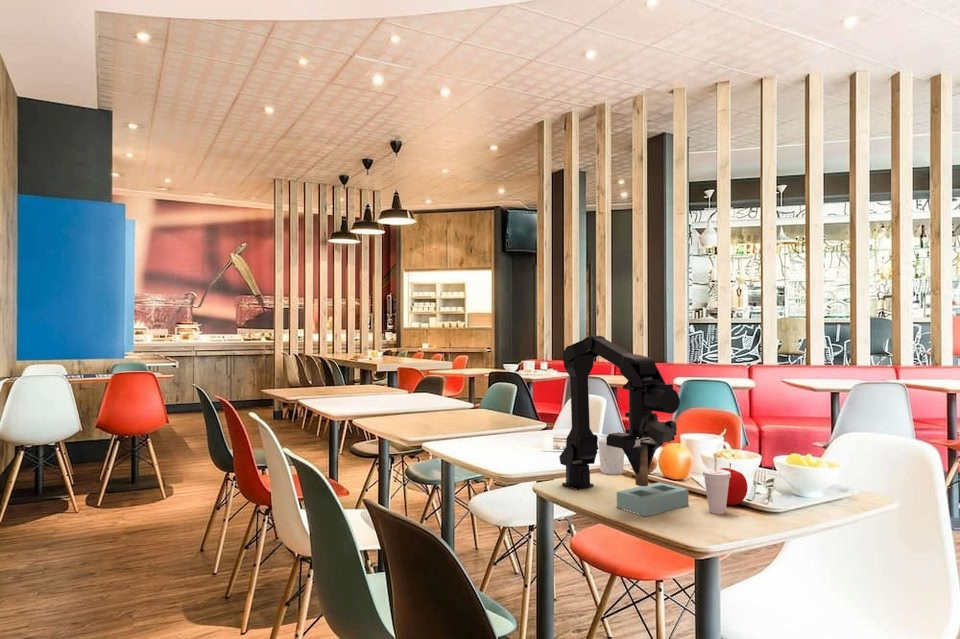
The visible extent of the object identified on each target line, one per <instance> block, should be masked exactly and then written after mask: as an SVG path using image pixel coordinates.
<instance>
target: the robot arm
mask: <svg viewBox="0 0 960 639" xmlns="http://www.w3.org/2000/svg"><path fill="white" fill-rule="evenodd" d="M598 357H601V358H603V359H604V360H606V361H607V362H609V363H611V364H612V365H614V366H616V367H617V368H618V369H619V373H620V375H622V376H623V377H624V378H625V379H626V380H627V382H626V383H625V384H624V385H622V390H627V391H628V412H625V413H624V416H625V418H628V428H625V431H624V432H625V433H624V432H613V433H608V435H607V436H606V437H605V438H607V445H608V446H612V447H617V448H622V449H623V451H624V455H625V456H626V458H627V459H628V462H629V464H630V465H631V468H632V470H633V472H634V474H635V473H637V474H638V473H639V469H640V453H641V451H642V450H643V449H644V447H642V446H640V445H647V446H648V472H649V470H650V467H651V465H652V464H651V463H652V461H653V458H654V455H655V453H656V452H657V450H658V449H659V448H660V447H663V445H664V444H665V443H671V442H672V441H675V440H676V438H675V436H677V435H678V434H677V431H678V429H677V422H676V421H674V420H667V421H660V420H658V415H657V413H663V414H670V415H671V414H675V413H676V412H677V410H678V409H679V408H680V405H681V399H680V396H679V393H678V392H677V391H676V390H675V389H674V385H673V383H666V382H665V380H664V378H663V376H662V374H661V372H660V371H659V369H658V367H657V365H656V361H655V360H654V359H653V358H652V357H648V356H645V355H642V354H641V355H640V354H636V353H635V354H634V353H631V352H629V351H628V350H625V349H624V348H622V347H620V346H619V345H616V344H615V343H614V342H611V341H610V340H608V339H606V337H604V336H603V335H588V336H586V337H584V339H582V340H579V341H577V342H575V343H572V344H570V345H567V346H566V347H565V349H564V350H563V352H562V359H563V367H564V369H565V371H566V373H567V374H568V376H569V380H570V381H569V382H570V387H569V388H570V408H571V409H570V413H571V414H570V415H571V429H570V431H569V433H568V435H567V437H566V440H565V442H566V443H565V448H564V449H563V451H562V452H561V454H560V455H559V457H558V458H559V463H560V464H561V466H562V465H563V466H565V482H562V483H561V486H564V487H567V488H571V489H574V490H580V489H585V488H590V487H594V484H593V483H591V471H590V465H591V464H592V465H594V464H595V462H596V457H597V454H598V450H599V438H598V435H597V434H594V432H593V431H592V429H591V426H590V424H591V423H590V422H591V421H590V394H589V393H590V392H589V376H590V374H591V373H592V372H591V371H592V370H593V368H594V362H595V361H594V360H595V359H596V358H598Z"/></svg>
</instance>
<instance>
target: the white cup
mask: <svg viewBox="0 0 960 639" xmlns="http://www.w3.org/2000/svg"><path fill="white" fill-rule="evenodd" d="M598 448H599V449H598V453H599V464H600V466H599V468H600V472H601V473H602V474H605V475H611V476H613V475H622V474H623V473H624V461H625V453H624V451H623V449H622V448H617V447H612V446H608V445H607V438H606V437H601V438H598Z"/></svg>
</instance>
